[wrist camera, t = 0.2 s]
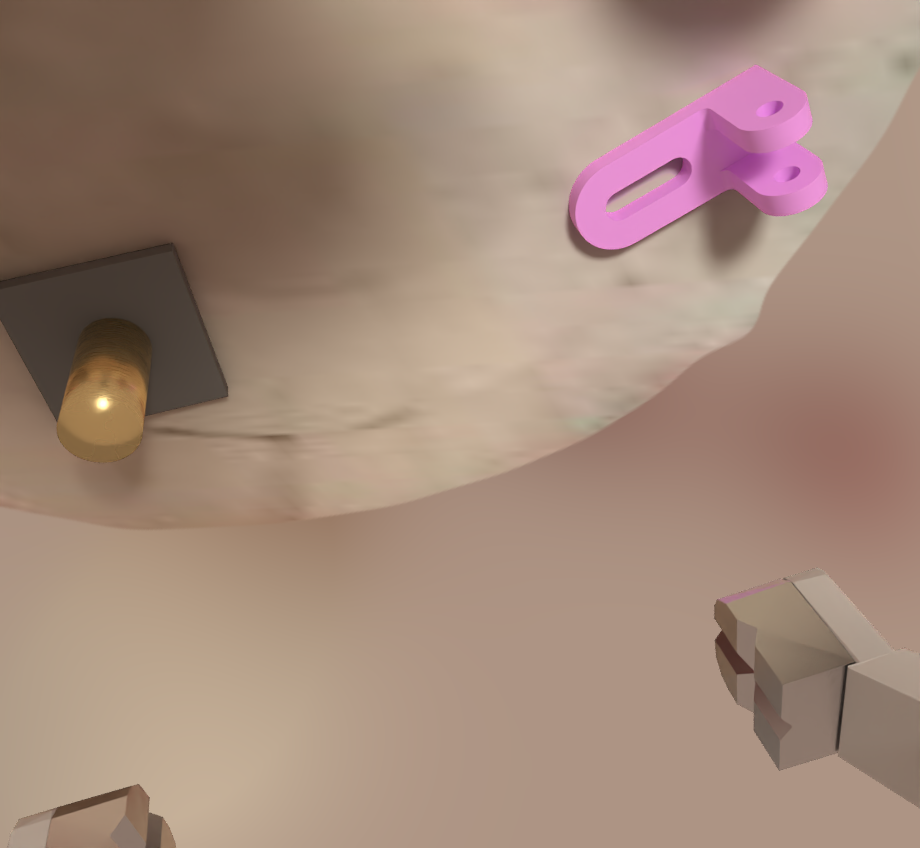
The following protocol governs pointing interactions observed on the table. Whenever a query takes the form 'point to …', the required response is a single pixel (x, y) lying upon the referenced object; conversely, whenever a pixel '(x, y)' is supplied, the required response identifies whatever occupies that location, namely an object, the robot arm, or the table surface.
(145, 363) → the brass peg
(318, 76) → the table surface
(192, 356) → the pad
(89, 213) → the table surface
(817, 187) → the bracket
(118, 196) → the table surface
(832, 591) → the robot arm
